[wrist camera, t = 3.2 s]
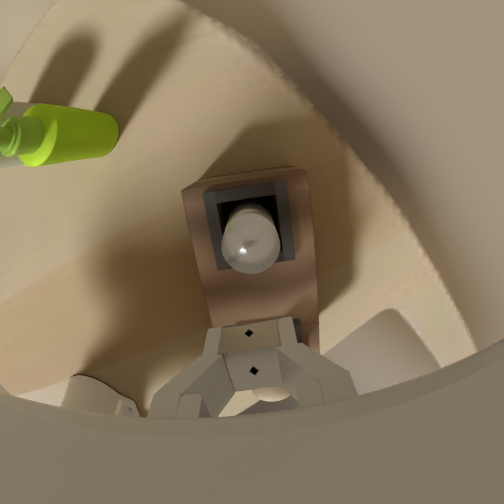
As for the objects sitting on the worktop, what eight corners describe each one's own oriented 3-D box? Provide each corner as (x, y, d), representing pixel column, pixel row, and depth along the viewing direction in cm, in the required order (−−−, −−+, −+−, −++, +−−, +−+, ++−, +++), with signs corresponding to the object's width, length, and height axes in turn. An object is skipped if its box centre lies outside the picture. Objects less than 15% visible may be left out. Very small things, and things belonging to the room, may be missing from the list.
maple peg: (287, 348, 32) (295, 398, 25) (254, 353, 33) (255, 403, 25) (284, 321, 31) (293, 370, 24) (248, 326, 31) (248, 376, 24)
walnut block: (307, 324, 40) (321, 372, 30) (231, 335, 40) (227, 384, 31) (291, 165, 32) (309, 172, 23) (198, 179, 32) (178, 192, 23)
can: (54, 162, 31) (-5, 173, 20) (15, 165, 30) (-40, 178, 19) (59, 98, 28) (1, 90, 16) (18, 108, 27) (-36, 107, 16)
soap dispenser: (132, 124, 30) (19, 112, 11) (100, 166, 31) (-18, 195, 13) (105, 98, 28) (-10, 73, 10) (74, 139, 30) (-43, 151, 11)
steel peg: (273, 236, 28) (283, 269, 20) (233, 242, 28) (227, 277, 20) (268, 195, 26) (276, 214, 19) (225, 201, 26) (216, 223, 19)
